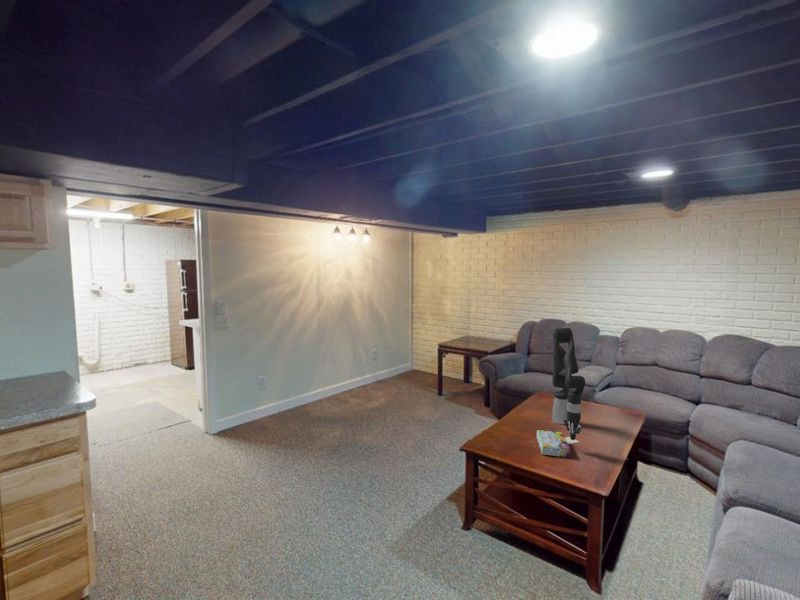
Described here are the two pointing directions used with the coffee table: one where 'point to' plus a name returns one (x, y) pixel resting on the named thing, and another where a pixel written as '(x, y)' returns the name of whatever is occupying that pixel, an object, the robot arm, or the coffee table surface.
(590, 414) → the coffee table surface
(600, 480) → the coffee table surface
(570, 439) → the mat
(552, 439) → the snack box
